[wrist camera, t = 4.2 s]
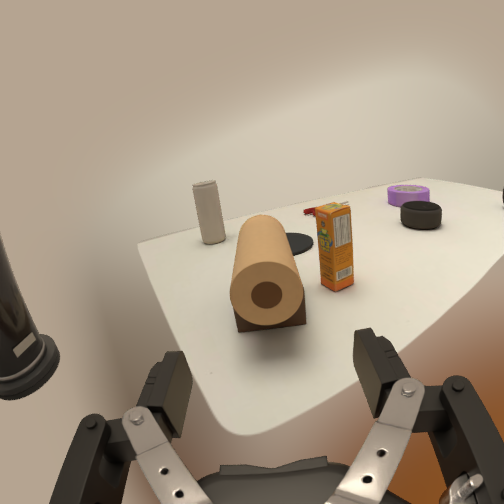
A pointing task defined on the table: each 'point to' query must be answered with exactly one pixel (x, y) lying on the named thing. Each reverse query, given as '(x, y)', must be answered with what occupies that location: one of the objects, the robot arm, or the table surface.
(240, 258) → the paper roll
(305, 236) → the mat
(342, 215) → the supplement box
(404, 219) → the smart speaker
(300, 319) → the riser block
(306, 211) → the scissors
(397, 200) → the tape roll
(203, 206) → the beverage can
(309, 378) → the table surface
